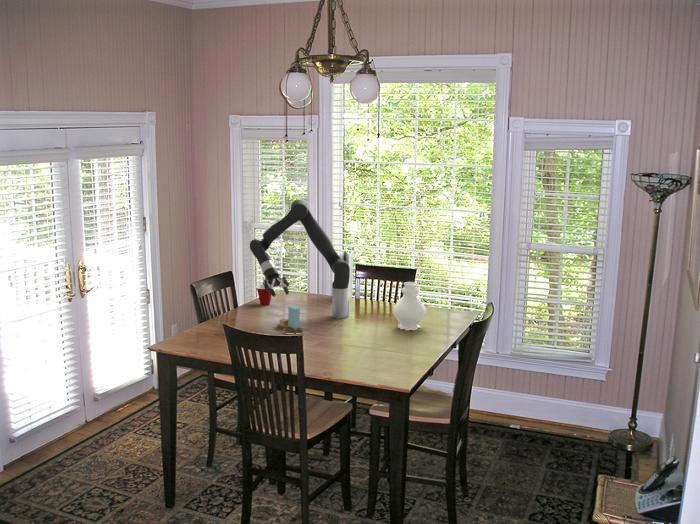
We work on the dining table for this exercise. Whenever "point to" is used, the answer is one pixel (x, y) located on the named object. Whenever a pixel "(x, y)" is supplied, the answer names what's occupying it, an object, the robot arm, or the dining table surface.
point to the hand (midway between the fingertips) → (281, 294)
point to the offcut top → (284, 321)
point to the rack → (292, 330)
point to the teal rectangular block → (293, 317)
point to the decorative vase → (409, 308)
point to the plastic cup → (263, 295)
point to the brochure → (349, 260)
